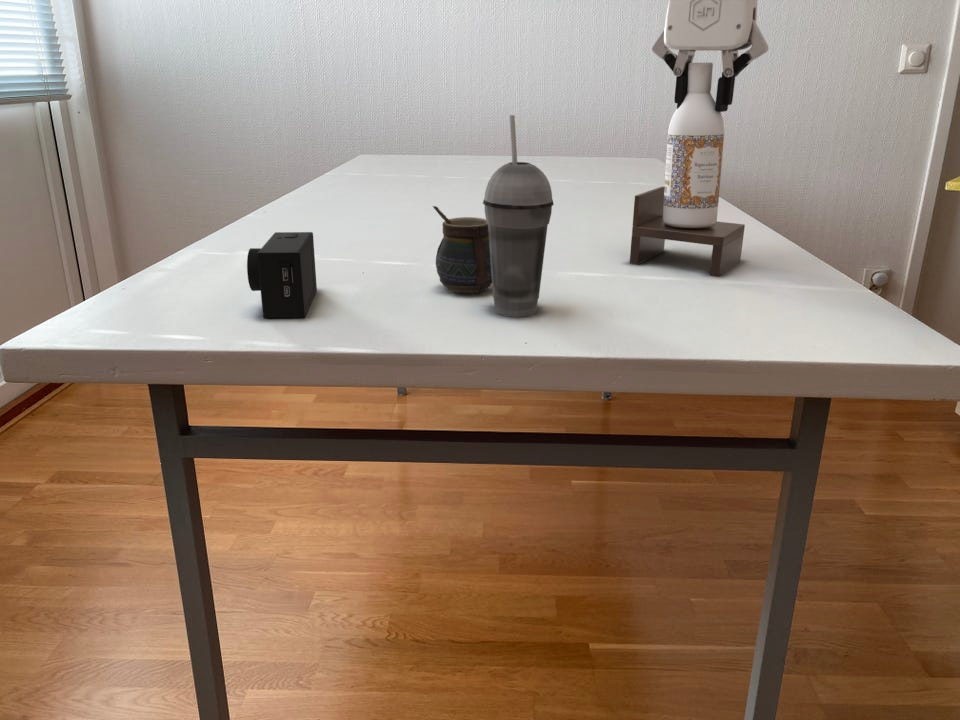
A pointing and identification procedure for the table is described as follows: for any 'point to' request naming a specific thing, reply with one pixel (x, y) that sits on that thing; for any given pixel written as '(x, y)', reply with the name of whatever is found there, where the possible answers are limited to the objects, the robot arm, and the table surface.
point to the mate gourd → (464, 255)
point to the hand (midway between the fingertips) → (702, 109)
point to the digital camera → (284, 274)
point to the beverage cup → (517, 232)
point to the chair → (681, 234)
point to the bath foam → (694, 155)
